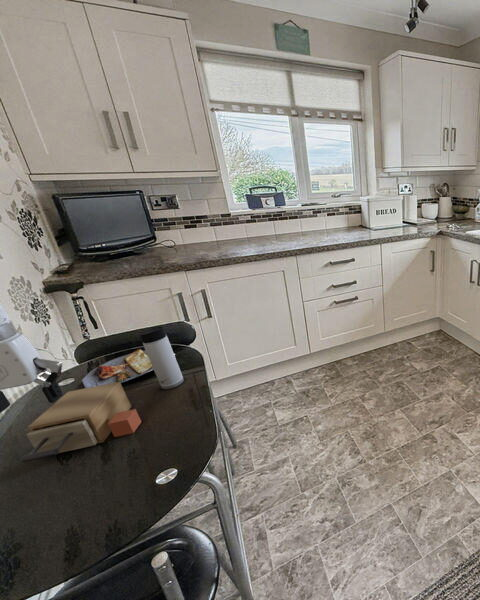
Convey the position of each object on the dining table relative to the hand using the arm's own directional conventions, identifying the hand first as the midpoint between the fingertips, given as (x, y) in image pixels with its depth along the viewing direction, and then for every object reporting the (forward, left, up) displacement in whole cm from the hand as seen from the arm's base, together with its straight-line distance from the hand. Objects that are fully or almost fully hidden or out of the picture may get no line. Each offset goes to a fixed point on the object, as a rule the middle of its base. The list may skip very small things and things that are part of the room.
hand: (30, 404), depth 72 cm
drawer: (+1, +6, -16) cm, 17 cm away
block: (+12, +4, -17) cm, 21 cm away
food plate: (+9, +42, -17) cm, 47 cm away
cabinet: (+3, +11, -17) cm, 21 cm away
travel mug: (+22, +21, -17) cm, 35 cm away
